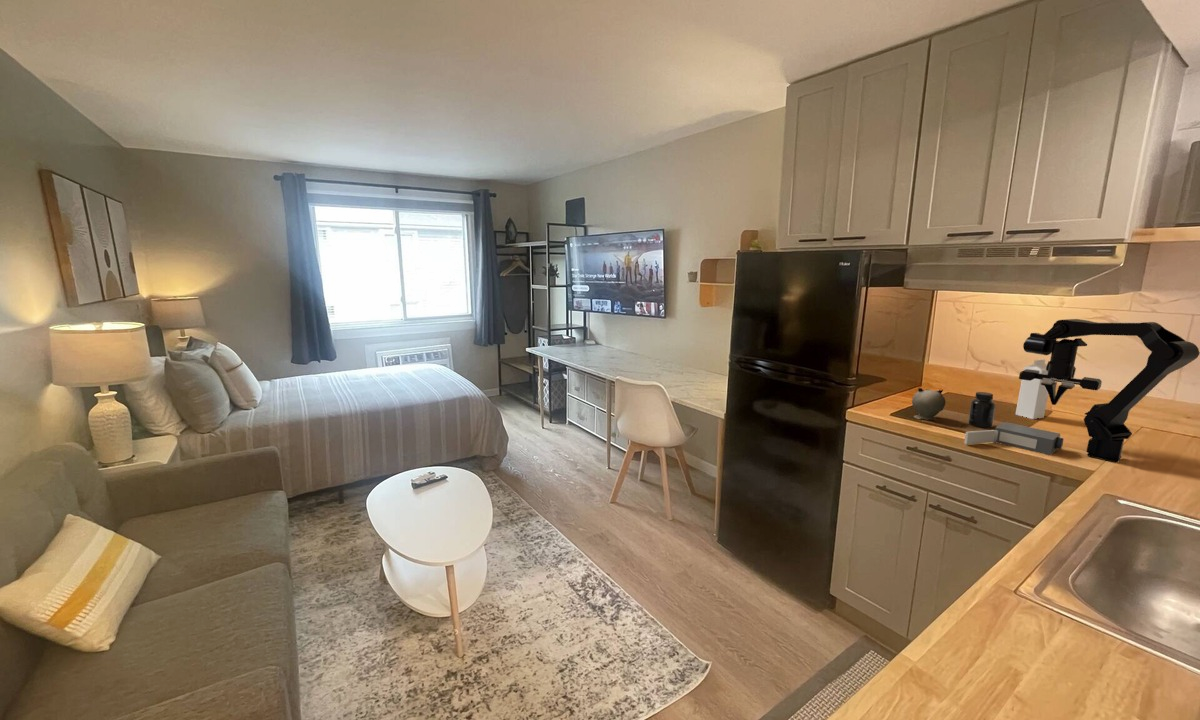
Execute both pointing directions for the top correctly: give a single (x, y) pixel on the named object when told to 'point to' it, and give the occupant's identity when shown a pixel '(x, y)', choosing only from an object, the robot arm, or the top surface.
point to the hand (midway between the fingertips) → (1053, 404)
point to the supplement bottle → (982, 410)
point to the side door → (979, 437)
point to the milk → (1033, 394)
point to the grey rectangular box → (1028, 438)
